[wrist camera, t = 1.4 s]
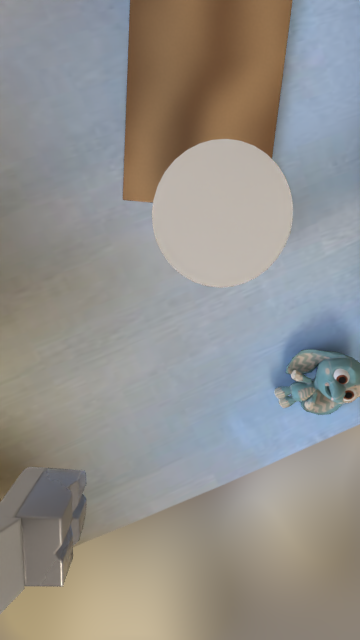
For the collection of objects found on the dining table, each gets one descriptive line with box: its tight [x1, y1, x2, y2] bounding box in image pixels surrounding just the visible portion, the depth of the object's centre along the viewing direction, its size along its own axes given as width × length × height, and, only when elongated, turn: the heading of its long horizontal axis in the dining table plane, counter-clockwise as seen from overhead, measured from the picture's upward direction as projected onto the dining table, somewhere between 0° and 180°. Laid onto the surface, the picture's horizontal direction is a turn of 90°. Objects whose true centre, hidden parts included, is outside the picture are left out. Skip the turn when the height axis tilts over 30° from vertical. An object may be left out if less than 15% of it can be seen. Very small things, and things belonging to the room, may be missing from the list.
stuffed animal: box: [274, 349, 360, 415], centre depth 42 cm, size 11×7×12 cm
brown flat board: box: [123, 0, 292, 202], centre depth 36 cm, size 18×29×1 cm, turn 176°
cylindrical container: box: [152, 139, 293, 287], centre depth 28 cm, size 7×7×25 cm
